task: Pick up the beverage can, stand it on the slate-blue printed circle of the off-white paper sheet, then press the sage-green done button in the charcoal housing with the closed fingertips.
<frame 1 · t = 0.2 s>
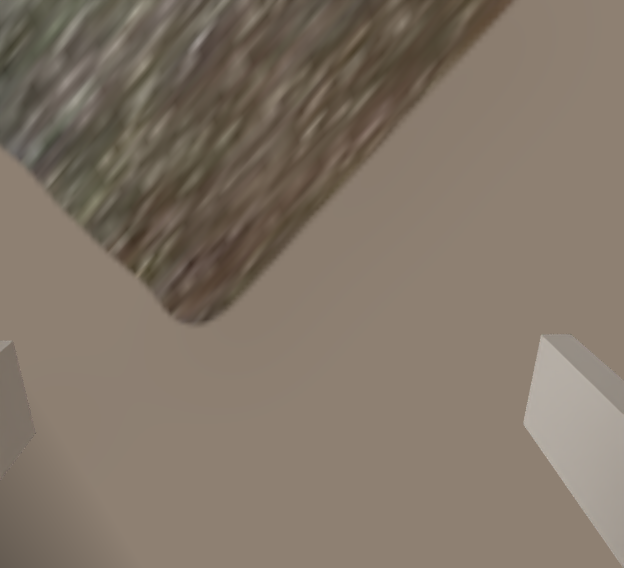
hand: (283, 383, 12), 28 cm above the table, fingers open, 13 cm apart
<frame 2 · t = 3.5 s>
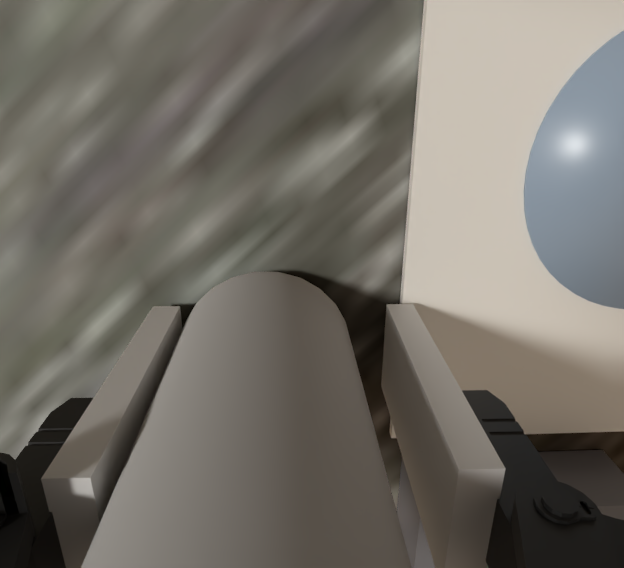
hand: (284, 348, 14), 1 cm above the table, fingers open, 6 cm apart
button housing: (489, 529, 18), on the table
beverage can: (267, 336, 15), on the table, touching gripper
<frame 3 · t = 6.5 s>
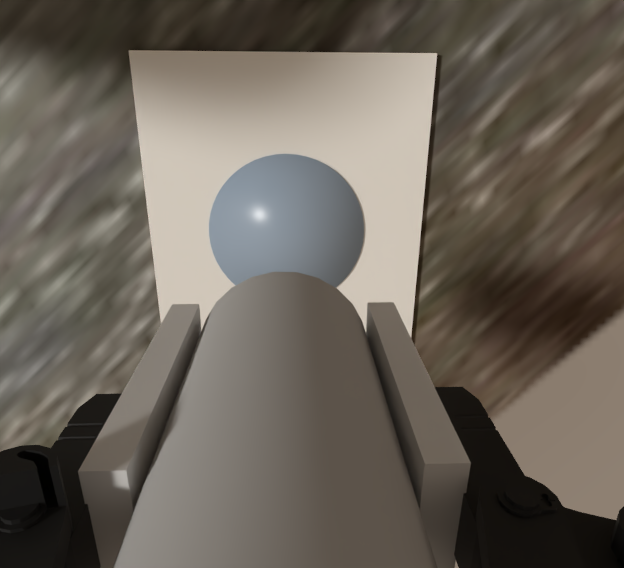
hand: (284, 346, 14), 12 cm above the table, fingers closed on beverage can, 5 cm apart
paper sheet: (287, 231, 26), on the table
beverage can: (284, 336, 15), point 11 cm above the table, touching gripper
when the fingers open (2 cm above the table, at t = 8.5 s): beverage can stays where it is, resting on paper sheet.
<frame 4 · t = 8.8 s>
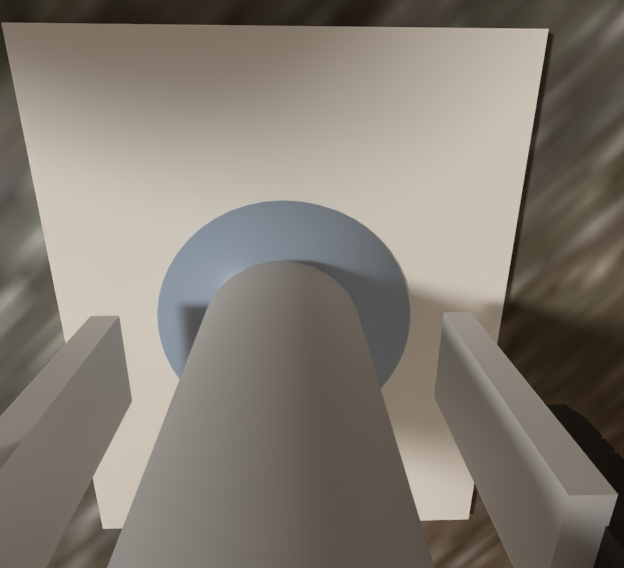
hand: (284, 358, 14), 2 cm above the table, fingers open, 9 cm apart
paper sheet: (285, 320, 16), on the table
beverage can: (282, 323, 16), resting on paper sheet
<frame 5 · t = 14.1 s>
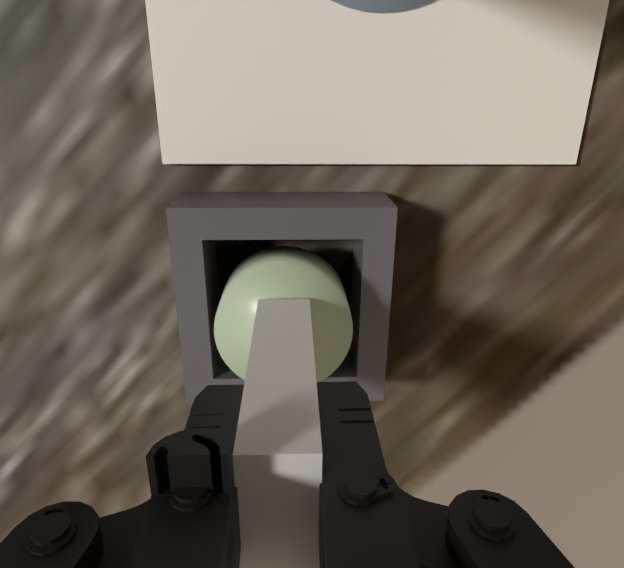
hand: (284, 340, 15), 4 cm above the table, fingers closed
done button: (284, 317, 16), point 3 cm above the table, slide at 0.4 cm, touching gripper
button housing: (285, 285, 18), on the table
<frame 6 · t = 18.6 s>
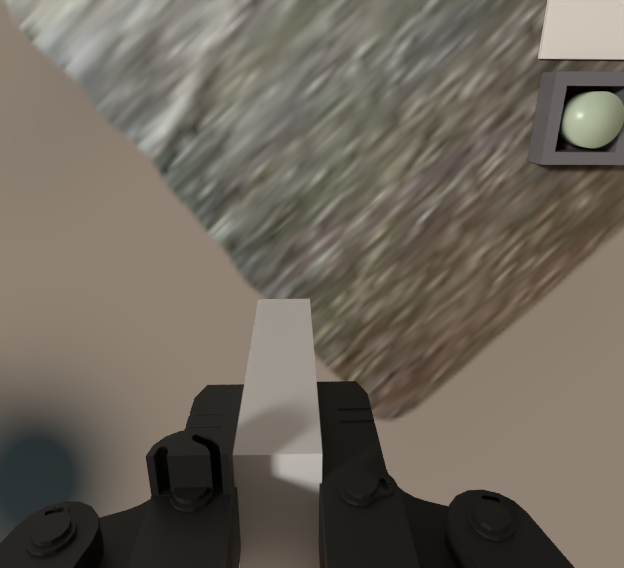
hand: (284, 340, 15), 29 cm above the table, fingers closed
done button: (590, 119, 39), point 2 cm above the table, slide at 1.0 cm
button housing: (575, 118, 41), on the table
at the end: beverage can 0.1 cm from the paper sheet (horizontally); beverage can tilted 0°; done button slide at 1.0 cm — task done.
